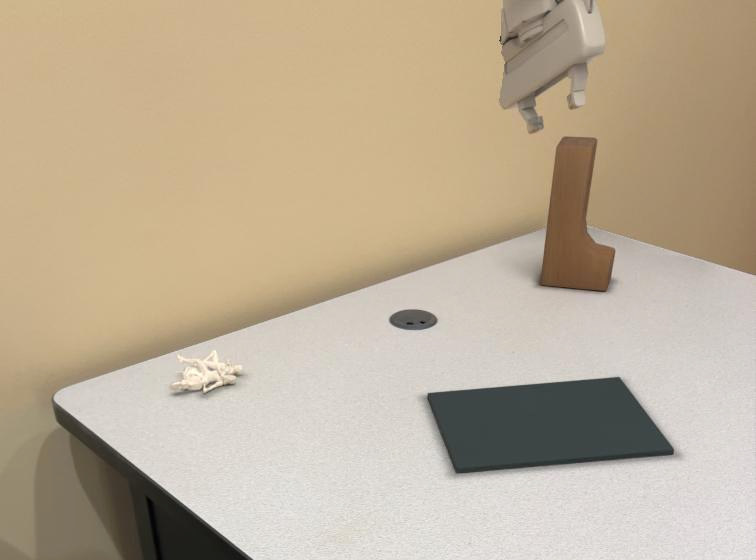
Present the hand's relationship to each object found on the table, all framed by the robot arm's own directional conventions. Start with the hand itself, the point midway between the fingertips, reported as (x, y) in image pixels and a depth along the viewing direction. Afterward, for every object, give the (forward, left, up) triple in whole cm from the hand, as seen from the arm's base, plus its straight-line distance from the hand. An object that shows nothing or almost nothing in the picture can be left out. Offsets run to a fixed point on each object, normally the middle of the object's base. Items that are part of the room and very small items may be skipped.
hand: (556, 120), depth 123 cm
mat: (+14, +51, -17) cm, 56 cm away
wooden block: (-1, +14, -18) cm, 23 cm away
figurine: (+50, +35, -18) cm, 64 cm away
